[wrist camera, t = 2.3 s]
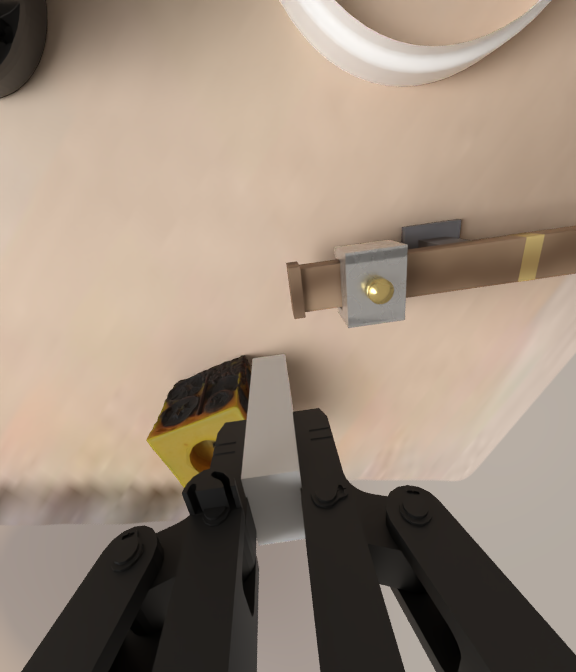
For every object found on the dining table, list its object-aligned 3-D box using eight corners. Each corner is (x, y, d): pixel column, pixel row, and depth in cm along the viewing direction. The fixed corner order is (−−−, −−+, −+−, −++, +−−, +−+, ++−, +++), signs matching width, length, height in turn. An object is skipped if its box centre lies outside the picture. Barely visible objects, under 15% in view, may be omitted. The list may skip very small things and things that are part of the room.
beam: (282, 243, 31) (286, 254, 24) (575, 202, 32) (661, 201, 25) (290, 305, 34) (296, 330, 27) (559, 267, 35) (632, 282, 28)
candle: (245, 353, 36) (238, 402, 27) (276, 412, 40) (279, 472, 31) (172, 381, 37) (141, 438, 28) (209, 437, 41) (193, 502, 32)
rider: (334, 247, 27) (349, 255, 22) (388, 239, 27) (414, 246, 22) (338, 312, 29) (352, 333, 25) (387, 305, 29) (410, 325, 25)
